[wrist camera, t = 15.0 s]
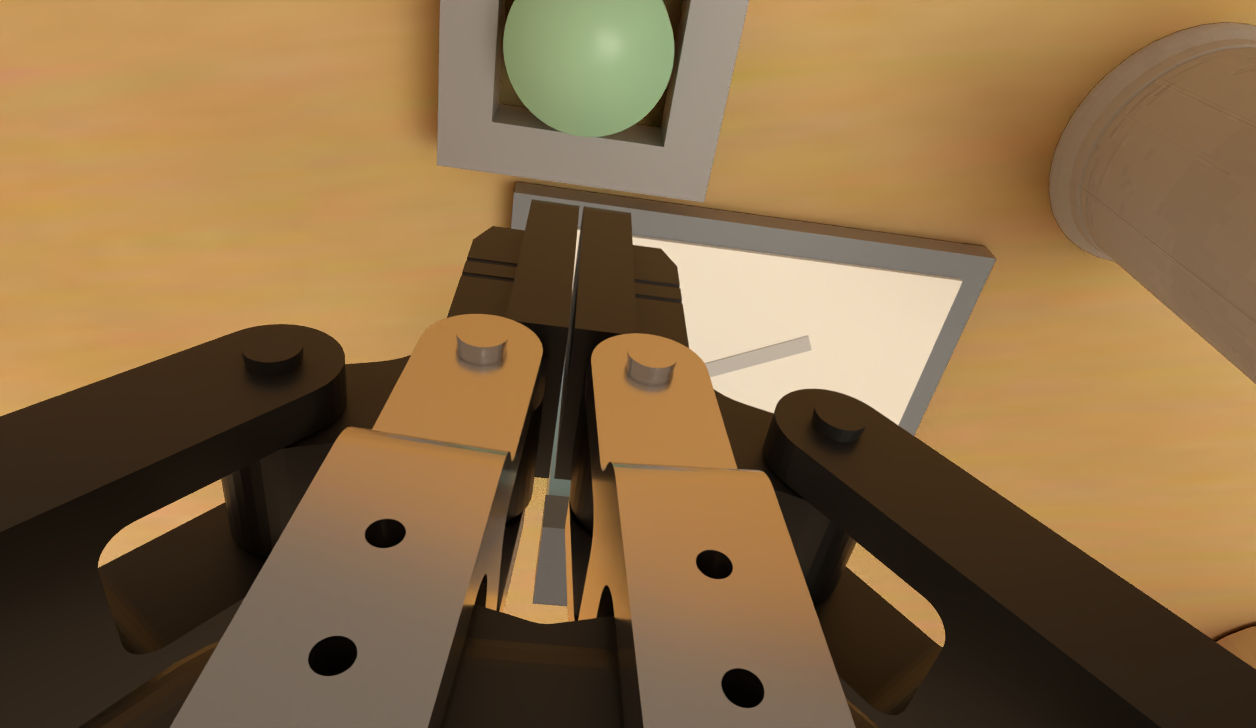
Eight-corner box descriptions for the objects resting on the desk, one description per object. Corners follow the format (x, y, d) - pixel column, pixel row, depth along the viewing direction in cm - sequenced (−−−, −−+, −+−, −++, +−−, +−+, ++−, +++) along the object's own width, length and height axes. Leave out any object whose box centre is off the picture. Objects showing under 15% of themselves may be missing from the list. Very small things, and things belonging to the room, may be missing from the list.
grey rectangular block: (647, 370, 32) (659, 537, 24) (633, 438, 34) (640, 612, 26) (558, 360, 31) (542, 526, 24) (549, 429, 33) (532, 603, 26)
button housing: (759, -105, 23) (770, -99, 22) (698, 180, 29) (704, 202, 27) (455, -160, 23) (442, -159, 21) (447, 144, 28) (437, 165, 26)
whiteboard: (985, 246, 30) (999, 261, 29) (874, 491, 38) (882, 510, 36) (516, 181, 28) (513, 195, 27) (495, 452, 36) (491, 471, 35)
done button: (682, -40, 24) (689, -27, 22) (654, 122, 27) (657, 147, 25) (517, -68, 23) (509, -57, 21) (506, 100, 26) (497, 124, 24)
